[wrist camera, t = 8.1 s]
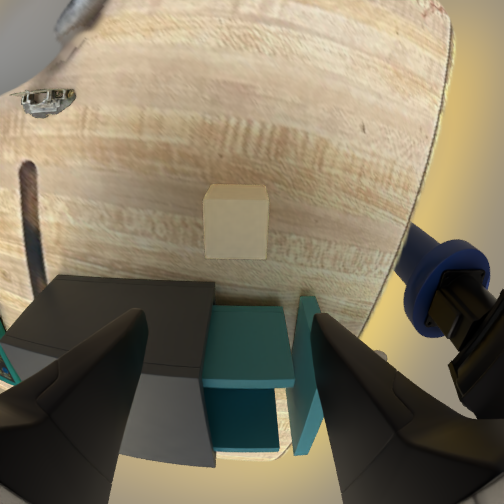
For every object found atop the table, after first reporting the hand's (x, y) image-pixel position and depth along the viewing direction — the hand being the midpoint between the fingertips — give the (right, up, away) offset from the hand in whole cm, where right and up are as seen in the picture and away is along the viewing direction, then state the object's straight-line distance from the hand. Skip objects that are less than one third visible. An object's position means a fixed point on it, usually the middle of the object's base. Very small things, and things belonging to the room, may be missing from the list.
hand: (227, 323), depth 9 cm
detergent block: (0, +5, +11) cm, 12 cm away
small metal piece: (-15, +14, +7) cm, 21 cm away
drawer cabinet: (-10, -6, +16) cm, 19 cm away
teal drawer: (+1, -6, +15) cm, 16 cm away
